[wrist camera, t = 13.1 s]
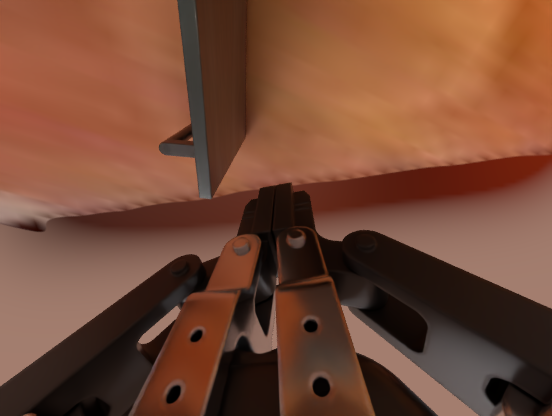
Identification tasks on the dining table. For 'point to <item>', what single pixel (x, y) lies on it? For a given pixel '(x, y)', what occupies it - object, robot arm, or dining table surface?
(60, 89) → the dining table surface
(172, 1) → the dining table surface
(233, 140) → the door
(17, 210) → the dining table surface
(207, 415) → the robot arm
